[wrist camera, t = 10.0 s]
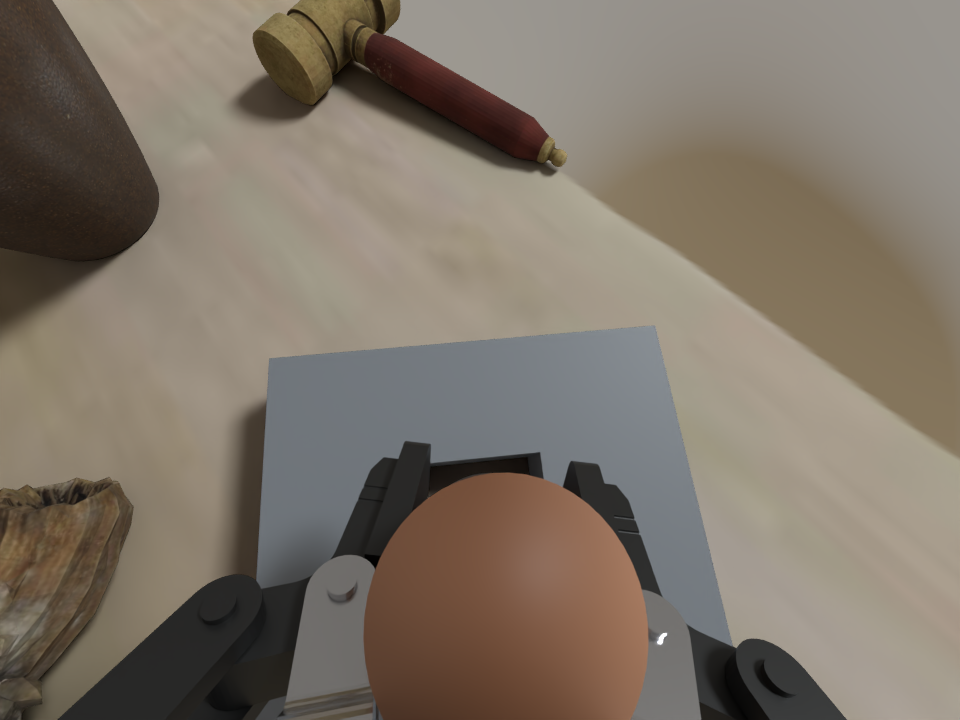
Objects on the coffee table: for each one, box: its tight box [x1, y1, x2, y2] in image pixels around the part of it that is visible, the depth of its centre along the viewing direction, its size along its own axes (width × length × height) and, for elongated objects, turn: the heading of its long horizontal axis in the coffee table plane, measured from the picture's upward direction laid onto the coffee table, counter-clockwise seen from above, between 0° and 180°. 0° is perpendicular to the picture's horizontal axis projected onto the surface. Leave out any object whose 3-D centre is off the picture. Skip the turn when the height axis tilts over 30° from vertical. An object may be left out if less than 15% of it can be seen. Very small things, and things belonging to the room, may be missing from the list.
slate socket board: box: [255, 326, 733, 720], centre depth 18 cm, size 18×16×4 cm
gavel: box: [253, 0, 567, 167], centre depth 26 cm, size 21×5×10 cm
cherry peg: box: [363, 473, 648, 720], centre depth 10 cm, size 4×4×10 cm
